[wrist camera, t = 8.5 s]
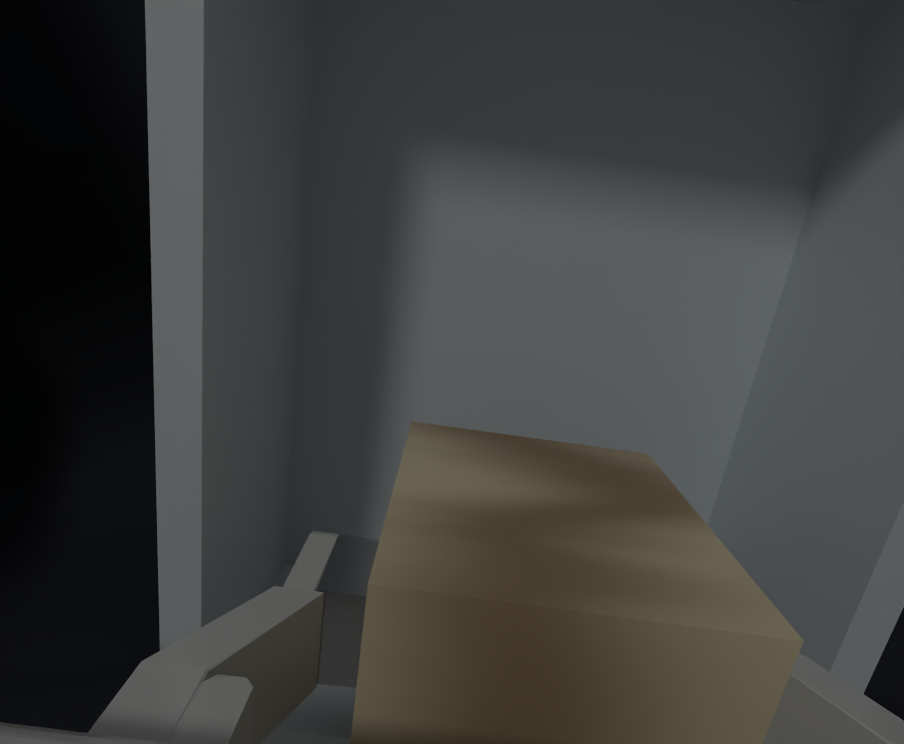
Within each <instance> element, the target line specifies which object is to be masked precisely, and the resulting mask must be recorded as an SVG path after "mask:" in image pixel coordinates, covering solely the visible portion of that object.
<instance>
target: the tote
mask: <svg viewBox="0 0 904 744" xmlns="http://www.w3.org/2000/svg"><path fill="white" fill-rule="evenodd" d="M145 18H146V62H147V105H148V148H149V191H150V235H151V278H152V321H153V364H154V408H155V451H156V494H157V537H158V581H159V624H160V651H161V650H163V649H164V648H166V647H168V646H170V645H172V644H173V643H175V642H177V641H179V640H180V639H182V638H184V637H186V636H187V635H189V634H191V633H193V632H194V631H196V630H198V629H200V628H201V627H203V626H205V625H207V624H208V623H210V622H212V621H214V620H215V619H217V618H219V617H221V616H223V615H224V614H226V613H228V612H230V611H231V610H233V609H235V608H237V607H238V606H240V605H242V604H244V603H245V602H247V601H249V600H251V599H252V598H254V597H256V596H258V595H259V594H261V593H263V592H265V591H267V590H268V589H270V588H272V587H274V586H280V587H283V585H284V583H285V581H286V579H287V578H288V576H289V574H290V572H291V570H292V568H293V566H294V564H295V562H296V560H297V558H298V556H299V554H300V552H301V550H302V548H303V546H304V544H305V542H306V540H307V538H308V536H309V534H310V533H312V532H313V531H321V532H329V533H337V534H339V535H340V534H343V535H349V536H356V537H362V538H369V539H375V540H380V537H381V533H382V529H383V525H384V522H385V518H386V514H387V511H388V507H389V503H390V499H391V496H392V492H393V488H394V485H395V481H396V477H397V473H398V470H399V466H400V462H401V458H402V455H403V451H404V447H405V444H406V440H407V436H408V432H409V429H410V425H411V421H413V422H420V423H427V424H435V425H442V426H449V427H456V428H464V429H471V430H478V431H485V432H493V433H500V434H507V435H515V436H522V437H529V438H536V439H544V440H551V441H558V442H565V443H573V444H580V445H587V446H595V447H602V448H609V449H616V450H624V451H631V452H638V453H645V454H649V456H650V457H651V458H652V459H653V460H654V462H655V463H656V464H657V465H658V466H659V468H660V469H661V470H662V471H663V472H664V474H665V475H666V476H667V477H668V478H669V480H670V481H671V482H672V483H673V484H674V486H675V487H676V488H677V489H678V490H679V492H680V493H681V494H682V495H683V496H684V498H685V499H686V500H687V501H688V502H689V504H690V505H691V506H692V507H693V508H694V510H695V511H696V512H697V513H698V514H699V516H700V517H701V518H702V519H703V520H704V522H705V523H706V524H707V525H708V526H709V528H710V529H711V530H712V531H713V532H714V534H715V535H716V536H717V537H718V538H719V540H720V541H721V542H722V543H723V544H724V546H725V547H726V548H727V549H728V551H729V552H730V553H731V554H732V555H733V557H734V558H735V559H736V560H737V561H738V563H739V564H740V565H741V566H742V567H743V569H744V570H745V571H746V572H747V573H748V575H749V576H750V577H751V578H752V579H753V581H754V582H755V583H756V584H757V585H758V587H759V588H760V589H761V590H762V591H763V593H764V594H765V595H766V596H767V597H768V599H769V600H770V601H771V602H772V603H773V605H774V606H775V607H776V608H777V609H778V611H779V612H780V613H781V614H782V615H783V617H784V618H785V619H786V620H787V621H788V623H789V624H790V625H791V626H792V627H793V629H794V630H795V631H796V632H797V633H798V635H799V636H800V637H801V638H802V639H803V641H804V642H803V644H802V647H801V649H800V652H799V654H801V655H804V656H806V657H807V658H809V659H810V660H812V661H813V662H815V663H816V664H818V665H819V666H821V667H823V668H824V669H826V670H827V671H829V672H830V673H832V674H833V675H835V676H836V677H838V678H839V679H841V680H842V681H844V682H845V683H847V684H848V685H850V686H851V687H853V688H855V689H856V690H858V691H859V692H861V693H862V694H863V693H864V691H865V689H866V687H867V685H868V683H869V680H870V678H871V676H872V674H873V672H874V670H875V667H876V665H877V663H878V661H879V659H880V657H881V654H882V652H883V650H884V648H885V646H886V644H887V642H888V639H889V637H890V635H891V633H892V631H893V629H894V626H895V624H896V622H897V620H898V618H899V616H900V613H901V611H902V609H903V607H904V0H145ZM355 696H356V688H353V687H342V686H332V685H321V684H317V687H316V688H315V689H314V690H313V691H312V692H311V693H310V694H309V695H308V696H307V697H306V698H305V699H304V700H303V701H302V702H301V703H300V704H299V705H298V706H297V707H296V708H295V709H294V710H293V711H292V712H291V713H290V714H289V715H288V716H287V717H286V718H285V719H284V720H283V721H282V722H281V724H280V725H279V726H278V727H277V728H276V729H275V730H274V731H273V732H272V733H271V734H270V735H269V736H268V737H267V738H266V739H265V740H264V741H263V742H262V743H261V744H350V741H351V732H352V723H353V714H354V705H355Z"/></svg>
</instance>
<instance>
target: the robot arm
mask: <svg viewBox="0 0 904 744" xmlns="http://www.w3.org/2000/svg"><path fill="white" fill-rule="evenodd" d="M378 544H379V540H375V539H369V538H362V537H356V536H349V535H343V534H340V535H339V534H337V533H329V532H321V531H313V532H312V533H310V534H309V536H308V538H307V540H306V542H305V544H304V546H303V548H302V550H301V552H300V554H299V556H298V558H297V560H296V562H295V564H294V566H293V568H292V570H291V572H290V574H289V576H288V578H287V579H286V581H285V583H284V585H283V587H280V586H274V587H272V588H270V589H268V590H267V591H265V592H263V593H261V594H259V595H258V596H256V597H254V598H252V599H251V600H249V601H247V602H245V603H244V604H242V605H240V606H238V607H237V608H235V609H233V610H231V611H230V612H228V613H226V614H224V615H223V616H221V617H219V618H217V619H215V620H214V621H212V622H210V623H208V624H207V625H205V626H203V627H201V628H200V629H198V630H196V631H194V632H193V633H191V634H189V635H187V636H186V637H184V638H182V639H180V640H179V641H177V642H175V643H173V644H172V645H170V646H168V647H166V648H164V649H163V650H161V651H159V652H157V653H156V654H154V655H152V656H150V657H149V658H147V659H145V660H143V661H142V662H141V663H140V664H139V666H138V667H137V668H136V670H135V671H134V672H133V674H132V675H131V676H130V678H129V679H128V680H127V682H126V683H125V684H124V686H123V687H122V688H121V690H120V691H119V692H118V694H117V695H116V696H115V697H114V699H113V700H112V701H111V703H110V704H109V705H108V707H107V708H106V709H105V711H104V712H103V713H102V715H101V716H100V717H99V719H98V720H97V721H96V723H95V724H94V725H93V727H92V728H91V729H90V731H89V732H88V733H82V732H74V731H66V730H58V729H50V728H42V727H34V726H26V725H18V724H10V723H2V722H0V744H261V743H262V742H263V741H264V740H265V739H266V738H267V737H268V736H269V735H270V734H271V733H272V732H273V731H274V730H275V729H276V728H277V727H278V726H279V725H280V724H281V722H282V721H283V720H284V719H285V718H286V717H287V716H288V715H289V714H290V713H291V712H292V711H293V710H294V709H295V708H296V707H297V706H298V705H299V704H300V703H301V702H302V701H303V700H304V699H305V698H306V697H307V696H308V695H309V694H310V693H311V692H312V691H313V690H314V689H315V688H316V687H317V684H321V685H332V686H342V687H353V688H356V687H357V678H358V668H359V659H360V650H361V641H362V632H363V623H364V614H365V605H366V596H367V587H368V581H369V578H370V574H371V570H372V566H373V563H374V559H375V555H376V552H377V548H378ZM762 744H904V721H903V720H902V719H900V718H899V717H897V716H896V715H894V714H893V713H891V712H890V711H888V710H887V709H885V708H883V707H882V706H880V705H879V704H877V703H876V702H874V701H873V700H871V699H870V698H868V697H867V696H865V695H864V694H862V693H861V692H859V691H858V690H856V689H855V688H853V687H851V686H850V685H848V684H847V683H845V682H844V681H842V680H841V679H839V678H838V677H836V676H835V675H833V674H832V673H830V672H829V671H827V670H826V669H824V668H823V667H821V666H819V665H818V664H816V663H815V662H813V661H812V660H810V659H809V658H807V657H806V656H804V655H801V654H798V657H797V659H796V662H795V664H794V667H793V669H792V672H791V674H790V677H789V679H788V682H787V684H786V687H785V689H784V691H783V694H782V696H781V699H780V701H779V704H778V706H777V709H776V711H775V714H774V716H773V719H772V721H771V724H770V726H769V729H768V731H767V734H766V736H765V739H764V741H763V743H762Z"/></svg>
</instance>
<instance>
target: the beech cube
mask: <svg viewBox="0 0 904 744" xmlns="http://www.w3.org/2000/svg"><path fill="white" fill-rule="evenodd" d="M803 642H804V641H803V639H802V638H801V637H800V636H799V635H798V633H797V632H796V631H795V630H794V629H793V627H792V626H791V625H790V624H789V623H788V621H787V620H786V619H785V618H784V617H783V615H782V614H781V613H780V612H779V611H778V609H777V608H776V607H775V606H774V605H773V603H772V602H771V601H770V600H769V599H768V597H767V596H766V595H765V594H764V593H763V591H762V590H761V589H760V588H759V587H758V585H757V584H756V583H755V582H754V581H753V579H752V578H751V577H750V576H749V575H748V573H747V572H746V571H745V570H744V569H743V567H742V566H741V565H740V564H739V563H738V561H737V560H736V559H735V558H734V557H733V555H732V554H731V553H730V552H729V551H728V549H727V548H726V547H725V546H724V544H723V543H722V542H721V541H720V540H719V538H718V537H717V536H716V535H715V534H714V532H713V531H712V530H711V529H710V528H709V526H708V525H707V524H706V523H705V522H704V520H703V519H702V518H701V517H700V516H699V514H698V513H697V512H696V511H695V510H694V508H693V507H692V506H691V505H690V504H689V502H688V501H687V500H686V499H685V498H684V496H683V495H682V494H681V493H680V492H679V490H678V489H677V488H676V487H675V486H674V484H673V483H672V482H671V481H670V480H669V478H668V477H667V476H666V475H665V474H664V472H663V471H662V470H661V469H660V468H659V466H658V465H657V464H656V463H655V462H654V460H653V459H652V458H651V457H650V456H649V454H645V453H638V452H631V451H624V450H616V449H609V448H602V447H595V446H587V445H580V444H573V443H565V442H558V441H551V440H544V439H536V438H529V437H522V436H515V435H507V434H500V433H493V432H485V431H478V430H471V429H464V428H456V427H449V426H442V425H435V424H427V423H420V422H413V421H411V425H410V429H409V432H408V436H407V440H406V444H405V447H404V451H403V455H402V458H401V462H400V466H399V470H398V473H397V477H396V481H395V485H394V488H393V492H392V496H391V499H390V503H389V507H388V511H387V514H386V518H385V522H384V525H383V529H382V533H381V537H380V540H379V544H378V548H377V552H376V555H375V559H374V563H373V566H372V570H371V574H370V578H369V581H368V587H367V596H366V605H365V614H364V623H363V632H362V641H361V650H360V659H359V668H358V678H357V687H356V696H355V705H354V714H353V723H352V732H351V741H350V744H762V743H763V741H764V739H765V736H766V734H767V731H768V729H769V726H770V724H771V721H772V719H773V716H774V714H775V711H776V709H777V706H778V704H779V701H780V699H781V696H782V694H783V691H784V689H785V687H786V684H787V682H788V679H789V677H790V674H791V672H792V669H793V667H794V664H795V662H796V659H797V657H798V654H799V652H800V649H801V647H802V644H803Z"/></svg>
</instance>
